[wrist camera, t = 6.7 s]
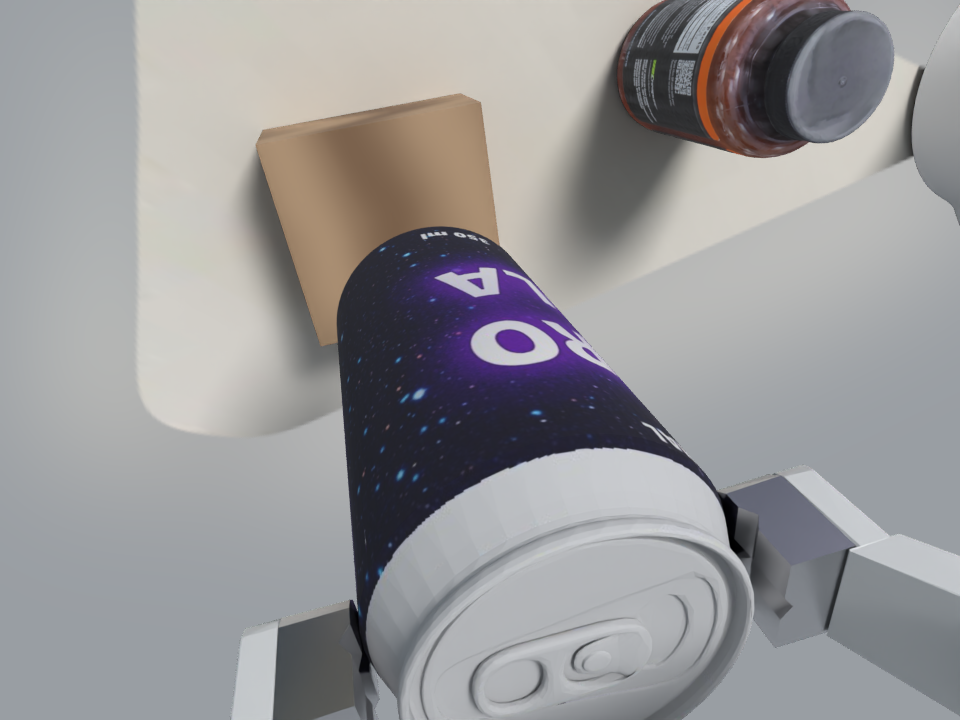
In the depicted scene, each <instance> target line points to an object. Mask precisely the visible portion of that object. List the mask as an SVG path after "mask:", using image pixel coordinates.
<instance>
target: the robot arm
mask: <svg viewBox="0 0 960 720" xmlns="http://www.w3.org/2000/svg"><path fill="white" fill-rule="evenodd" d="M912 147H913V154H914V159H915V163H916V166H917V169H918V171H919V174H920V175H921V177H922V179H923V181H924V182H925V183H926V185H927V186H928V187H929V188H930V189H931V190H932V191H933V192H934V193H935V194H937V195H938V196H940V197H941V198H943V199H945V200H946V201H947V202H949V203H950V204H951V205H952V206H953V208H954V210H955V213H956V216H957V219H958V222H959V225H960V5H959V6H958V7H957V9H956V10H955V12H954V13H953V15H952V16H951V18H950V20H949V21H948V23H947V24H946V26H945V28H944V30H943V31H942V33H941V35H940V37H939V39H938V41H937V43H936V45H935V47H934V49H933V51H932V53H931V56H930V58H929V60H928V63H927V65H926V68H925V70H924V73H923V76H922V79H921V82H920V85H919V89H918V93H917V97H916V101H915V106H914V113H913V120H912ZM716 491H717V493H718V495H719V498H720V500H721V504H722V507H723V511H724V514H725V520H726V526H727V532H728V539H729V545H730V549H731V550H732V551H733V552H734V553H735V554H736V555H737V557H738V558H739V559H740V560H741V562H742V563H743V565H744V567H745V568H746V571H747V573H748V575H749V578H750V581H751V584H752V588H753V591H754V615H753V619H754V621H755V622H756V624H757V625H758V626H759V628H760V629H761V630H762V632H763V633H764V634H765V635H766V637H767V638H768V639H769V641H770V642H771V643H772V645H773V646H774V647H775V648H777V647H780V646H783V645H786V644H790V643H793V642H796V641H799V640H803V639H806V638H809V637H813V636H816V635H819V634H822V633H825V632H827V636H828V637H830V638H832V639H833V640H835V641H837V642H838V643H840V644H842V645H843V646H845V647H847V648H848V649H850V650H852V651H853V652H855V653H857V654H858V655H860V656H862V657H863V658H865V659H867V660H868V661H870V662H871V663H873V664H875V665H877V666H878V667H880V668H881V669H883V670H885V671H887V672H888V673H890V674H891V675H893V676H895V677H896V678H898V679H900V680H901V681H903V682H905V683H906V684H908V685H910V686H911V687H913V688H915V689H916V690H918V691H920V692H921V693H923V694H924V695H926V696H928V697H929V698H931V699H933V700H935V701H936V702H938V703H939V704H941V705H943V706H945V707H946V708H948V709H949V710H951V711H953V712H954V713H956V714H958V715H960V556H958V555H955V554H952V553H950V552H947V551H945V550H942V549H939V548H936V547H934V546H931V545H928V544H926V543H923V542H920V541H917V540H915V539H912V538H909V537H906V536H904V535H901V534H896V535H893V536H889V535H888V534H887V533H886V532H885V531H883V530H882V529H881V528H880V527H879V526H878V525H876V524H875V523H874V522H873V521H872V520H871V519H869V518H868V517H867V516H866V515H865V514H864V513H863V512H861V511H860V510H859V509H858V508H857V507H856V506H855V505H853V504H852V503H851V502H850V501H849V500H848V499H847V498H845V497H844V496H843V495H842V494H841V493H840V492H838V491H837V490H836V489H835V488H834V487H833V486H831V485H830V484H829V483H828V482H827V481H826V480H825V479H823V478H822V477H821V476H820V475H819V474H818V473H816V472H815V471H814V470H813V469H811V468H809V467H807V466H804V465H801V466H797V467H794V468H791V469H787V470H783V471H781V472H777V473H774V474H772V475H771V474H768V475H765V476H762V477H758V478H755V479H752V480H749V481H745V482H742V483H739V484H736V485H733V486H729V487H726V488H723V489H720V490H716ZM378 701H379V689H378V680H377V674H376V670H375V669H374V667H373V666H372V664H371V662H370V661H369V659H368V657H367V655H366V653H365V650H364V647H363V644H362V641H361V636H360V631H359V618H358V611H357V609H356V607H355V604H354V602H353V600H348V601H344V602H341V603H336V604H333V605H329V606H325V607H322V608H318V609H314V610H310V611H306V612H303V613H299V614H295V615H292V616H288V617H284V618H281V619H278V620H274V621H271V622H267V623H263V624H260V625H256V626H253V627H249V628H246V629H245V630H244V632H243V635H242V637H241V639H240V643H239V651H238V659H237V668H236V676H235V684H234V691H233V700H232V708H231V716H230V720H378V717H377V714H376V712H375V707H376V705H377V703H378Z"/></svg>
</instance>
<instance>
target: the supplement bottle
mask: <svg viewBox="0 0 960 720" xmlns="http://www.w3.org/2000/svg"><path fill="white" fill-rule="evenodd" d="M893 64H894V47H893V41H892V38H891V34H890V32H889V30H888V28H887V26H886V25H885V24H884V23H883V22H882V21H881V20H880V19H879V18H878V17H876V16H875V15H873V14H871V13H868V12H865V11H851V10H850V8H849V7H848V5H847V4H846V3H845V2H844V0H664V1H662V2H659V3H658V4H656V5H654V6H653V7H651V8H650V9H649V10H648V11H646V12H645V13H644V14H643V15H642V16H641V17H640V18H639V19H638V20H637V22H636V23H635V24H634V26H633V27H632V28H631V30H630V32H629V33H628V35H627V37H626V39H625V41H624V43H623V46H622V49H621V53H620V57H619V62H618V68H617V82H618V89H619V93H620V98H621V100H622V103H623V105H624V107H625V109H626V110H627V112H628V113H629V114H630V116H631V117H632V118H633V119H634V120H635V121H636V122H638V123H639V124H641V125H642V126H644V127H645V128H647V129H650V130H653V131H655V132H658V133H662V134H666V135H669V136H673V137H676V138H680V139H684V140H687V141H691V142H695V143H699V144H703V145H706V146H710V147H713V148H717V149H720V150H724V151H727V152H731V153H736V154H740V155H744V156H748V157H754V158H769V157H777V156H781V155H785V154H788V153H791V152H793V151H795V150H797V149H799V148H800V147H802V146H804V145H806V144H807V143H808V142H812V143H829V142H834V141H836V140H839V139H842V138H844V137H845V136H847V135H849V134H851V133H852V132H854V131H855V130H856V129H858V128H859V127H860V126H861V125H862V124H863V123H864V122H866V120H867V119H868V118H869V117H870V116H871V114H872V113H873V112H874V111H875V109H876V108H877V106H878V105H879V104H880V102H881V100H882V98H883V96H884V94H885V92H886V90H887V87H888V85H889V82H890V79H891V74H892V71H893Z"/></svg>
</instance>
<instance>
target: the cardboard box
mask: <svg viewBox="0 0 960 720" xmlns="http://www.w3.org/2000/svg"><path fill="white" fill-rule="evenodd" d="M256 148H257V151H258V154H259V158H260V161H261V164H262V167H263V170H264V173H265V176H266V179H267V182H268V185H269V188H270V192H271V195H272V198H273V201H274V204H275V207H276V210H277V213H278V216H279V219H280V222H281V226H282V229H283V232H284V235H285V238H286V241H287V244H288V247H289V250H290V253H291V256H292V260H293V263H294V266H295V269H296V272H297V275H298V278H299V281H300V284H301V287H302V290H303V294H304V297H305V300H306V303H307V306H308V309H309V312H310V315H311V318H312V321H313V324H314V328H315V331H316V334H317V337H318V340H319V343H320V346H325V345H329V344H334V343H338V339H337V310H338V305H339V301H340V297H341V294H342V292H343V289H344V287H345V285H346V283H347V281H348V279H349V277H350V276H351V274H352V273H353V271H354V270H355V268H356V267H357V266H358V265H359V263H360V262H361V261H362V260H363V259H364V258H365V257H366V256H367V255H368V254H369V253H370V252H372V251H373V250H374V249H375V248H377V247H378V246H379V245H381V244H383V243H384V242H386V241H387V240H389V239H391V238H393V237H395V236H397V235H400V234H402V233H405V232H408V231H411V230H415V229H420V228H425V227H435V226H445V227H456V228H461V229H466V230H469V231H472V232H475V233H478V234H480V235H482V236H484V237H486V238H488V239H490V240H492V241H493V242H495V243H496V244H497V245H499V238H498V230H497V223H496V215H495V207H494V200H493V192H492V184H491V177H490V169H489V161H488V154H487V146H486V138H485V131H484V123H483V115H482V108H481V102H479V101H476V100H474V99H472V98H469V97H467V96H465V95H463V94H455V95H449V96H444V97H438V98H433V99H428V100H422V101H417V102H412V103H406V104H401V105H395V106H390V107H385V108H379V109H374V110H369V111H363V112H358V113H352V114H347V115H342V116H336V117H331V118H326V119H320V120H315V121H309V122H304V123H299V124H293V125H288V126H283V127H277V128H272V129H266V130H263V131H262V133H261V135H260V137H259V139H258V141H257V143H256Z"/></svg>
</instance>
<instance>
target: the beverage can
mask: <svg viewBox="0 0 960 720" xmlns="http://www.w3.org/2000/svg"><path fill="white" fill-rule="evenodd" d="M337 339H338V352H339V365H340V378H341V392H342V405H343V418H344V431H345V444H346V457H347V471H348V485H349V498H350V512H351V525H352V538H353V551H354V564H355V578H356V591H357V604H358V618H359V631H360V636H361V641H362V644H363V647H364V650H365V653H366V655H367V657H368V659H369V661H370V662H371V664H372V666H373V667H374V669H375V670H376V672H377V673H378V675H379V676H380V678H382V680H383V681H384V683H385V684H386V685H387V686H388V688H389V689H390V690H391V691H392V693H393V694H394V695H395V697H396V698H397V704H398V713H399V719H400V720H682V719H683V718H684V717H685V716H687V715H688V714H689V713H690V712H691V711H692V710H693V709H695V708H696V707H697V706H698V705H699V704H700V703H702V702H703V701H704V700H705V699H706V698H707V697H708V696H709V695H710V694H711V693H712V692H713V690H714V689H715V688H716V687H717V686H718V685H719V684H720V683H721V681H722V680H723V679H724V677H725V676H726V675H727V673H728V672H729V671H730V670H731V668H732V667H733V665H734V663H735V662H736V660H737V659H738V656H739V655H740V653H741V651H742V650H743V648H744V645H745V643H746V640H747V638H748V635H749V632H750V630H751V625H752V620H753V615H754V591H753V588H752V584H751V581H750V578H749V575H748V573H747V571H746V568H745V567H744V565H743V563H742V562H741V560H740V559H739V558H738V557H737V555H736V554H735V553H734V552H733V551H732V550H731V549H730V545H729V539H728V532H727V526H726V520H725V514H724V511H723V507H722V504H721V500H720V498H719V495H718V493H717V491H716V489H715V487H714V486H713V484H712V482H711V481H710V479H709V478H708V477H707V475H706V474H705V473H704V472H703V471H702V469H701V468H700V467H699V466H698V465H697V464H696V463H695V462H694V461H693V459H692V458H691V457H690V456H689V455H688V454H687V453H686V452H685V450H684V449H683V448H682V447H681V446H680V445H679V444H678V443H677V442H676V441H675V439H674V438H673V437H672V436H671V435H670V434H669V433H668V431H667V430H666V429H665V428H664V427H663V426H662V425H661V424H660V423H659V421H658V420H657V419H656V418H655V417H654V416H653V415H652V414H651V413H650V411H649V410H648V409H647V408H646V407H645V406H644V405H643V404H642V402H641V401H640V400H639V399H638V398H637V397H636V396H635V395H634V394H633V392H631V390H630V389H629V388H628V387H627V386H626V385H625V384H624V382H623V381H622V380H621V379H620V378H619V377H618V376H617V375H616V374H615V372H614V371H613V370H612V369H611V368H610V367H609V366H608V365H607V364H606V362H605V361H604V360H603V359H602V358H601V357H600V356H599V355H598V354H597V352H596V351H595V350H594V349H593V348H592V347H591V346H590V344H589V343H588V342H587V341H586V340H585V339H584V338H583V337H582V336H581V335H580V333H579V332H578V331H577V330H576V329H575V328H574V327H573V326H572V324H571V323H570V322H569V321H568V320H567V319H566V318H565V317H564V316H563V314H562V313H561V312H560V311H559V310H558V309H557V308H556V307H555V305H554V304H553V303H552V302H551V301H550V300H549V299H548V298H547V297H546V295H545V294H544V293H543V292H542V291H541V290H540V289H539V288H538V286H537V285H536V284H535V283H534V282H533V281H532V280H531V279H530V278H529V276H528V275H527V274H526V273H525V272H524V271H523V270H522V269H521V268H520V266H519V265H518V264H517V263H516V262H515V261H514V260H513V259H512V257H511V256H510V255H509V254H508V253H507V252H506V251H505V250H504V249H502V248H501V247H500V246H499V245H497V244H496V243H495V242H493V241H492V240H490V239H488V238H486V237H484V236H482V235H480V234H478V233H475V232H472V231H469V230H466V229H461V228H456V227H445V226H435V227H425V228H420V229H415V230H411V231H408V232H405V233H402V234H400V235H397V236H395V237H393V238H391V239H389V240H387V241H386V242H384V243H383V244H381V245H379V246H378V247H377V248H375V249H374V250H373V251H372V252H370V253H369V254H368V255H367V256H366V257H365V258H364V259H363V260H362V261H361V262H360V263H359V265H358V266H357V267H356V268H355V270H354V271H353V273H352V274H351V276H350V277H349V279H348V281H347V283H346V285H345V287H344V289H343V292H342V294H341V297H340V301H339V305H338V310H337Z"/></svg>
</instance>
